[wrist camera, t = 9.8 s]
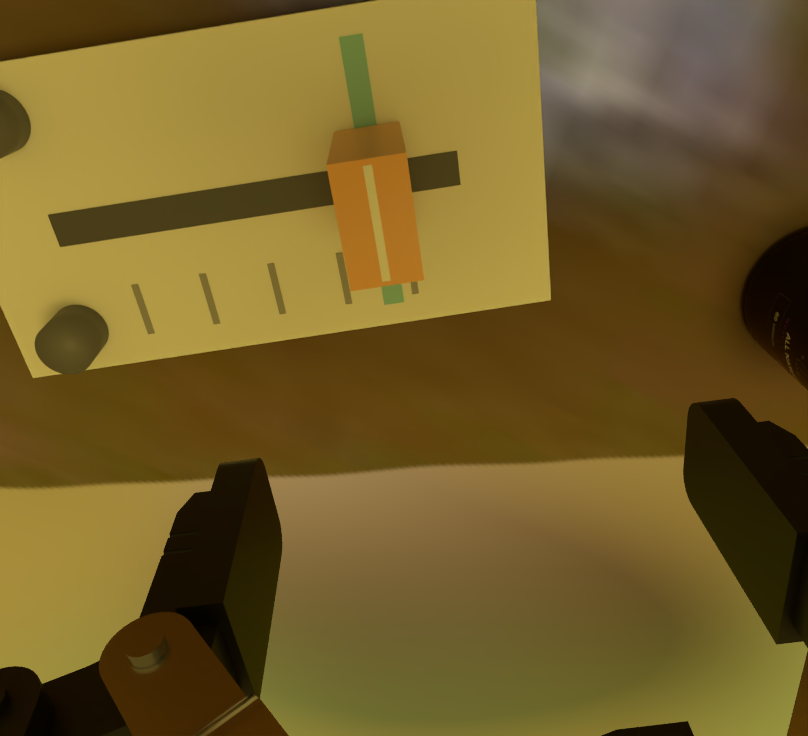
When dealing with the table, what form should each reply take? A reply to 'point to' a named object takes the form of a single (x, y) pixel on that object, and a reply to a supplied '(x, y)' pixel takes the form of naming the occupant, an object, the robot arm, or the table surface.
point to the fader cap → (374, 206)
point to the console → (263, 179)
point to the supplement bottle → (782, 306)
